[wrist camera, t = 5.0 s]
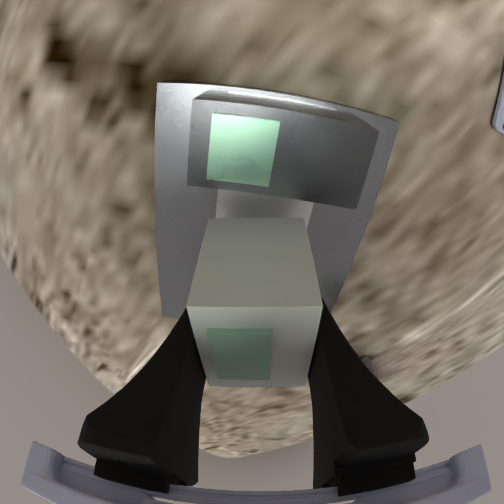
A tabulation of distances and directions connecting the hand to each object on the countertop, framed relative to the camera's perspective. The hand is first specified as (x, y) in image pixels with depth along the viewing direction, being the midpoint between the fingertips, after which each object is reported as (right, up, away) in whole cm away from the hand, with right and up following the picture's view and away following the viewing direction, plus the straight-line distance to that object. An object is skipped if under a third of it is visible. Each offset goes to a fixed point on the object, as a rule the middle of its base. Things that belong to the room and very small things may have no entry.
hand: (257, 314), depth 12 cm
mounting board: (0, +4, +6) cm, 7 cm away
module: (0, +2, +2) cm, 3 cm away
